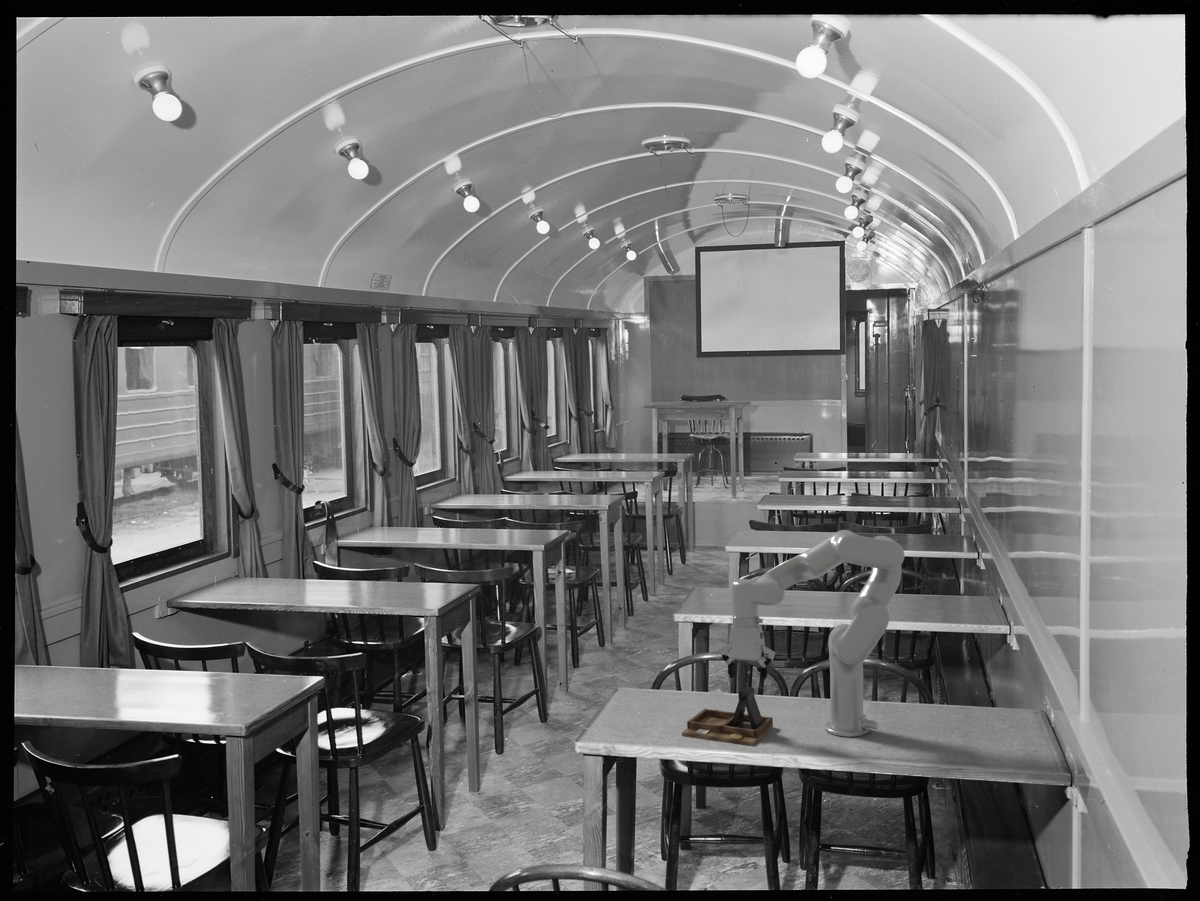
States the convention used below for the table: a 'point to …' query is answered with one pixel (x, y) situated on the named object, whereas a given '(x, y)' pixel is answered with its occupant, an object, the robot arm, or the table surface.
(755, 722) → the phone stand
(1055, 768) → the table surface
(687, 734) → the bay board
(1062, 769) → the table surface
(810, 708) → the table surface
